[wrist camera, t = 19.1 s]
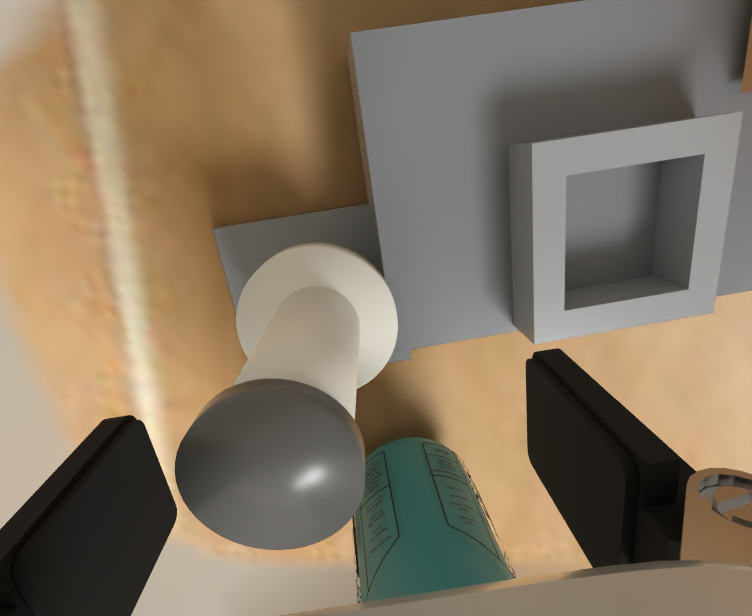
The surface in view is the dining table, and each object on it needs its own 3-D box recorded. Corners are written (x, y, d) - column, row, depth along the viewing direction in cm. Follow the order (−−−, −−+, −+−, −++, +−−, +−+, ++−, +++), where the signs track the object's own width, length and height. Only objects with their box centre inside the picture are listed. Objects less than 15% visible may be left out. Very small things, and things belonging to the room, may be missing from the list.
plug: (384, 221, 19) (402, 321, 8) (401, 350, 21) (435, 570, 10) (243, 242, 19) (66, 367, 8) (275, 366, 21) (170, 600, 10)
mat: (389, 200, 20) (391, 201, 19) (408, 354, 22) (410, 359, 22) (216, 227, 19) (212, 229, 19) (257, 380, 22) (256, 386, 21)
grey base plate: (758, -2, 18) (927, -65, 13) (719, 265, 22) (835, 297, 17) (346, 56, 17) (353, 13, 12) (385, 322, 22) (402, 374, 16)
